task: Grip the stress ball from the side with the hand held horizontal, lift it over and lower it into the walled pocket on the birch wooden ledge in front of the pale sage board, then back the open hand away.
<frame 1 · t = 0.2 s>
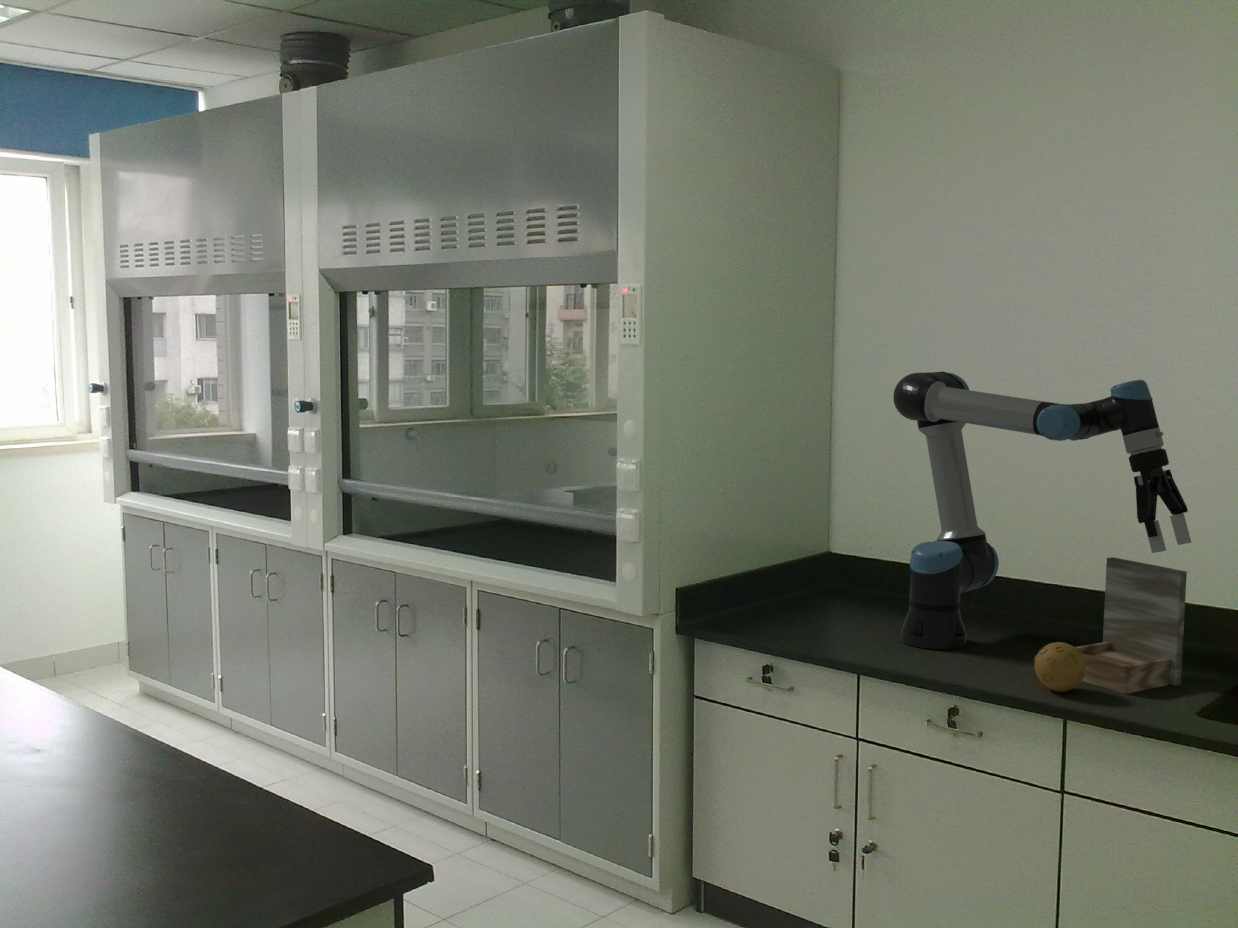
hand: (1172, 547, 248), 27 cm above the lab bench, tool tilted 15°, fingers open, 13 cm apart
ledge stand: (1114, 679, 245), on the lab bench
stress ball: (1058, 691, 237), on the lab bench
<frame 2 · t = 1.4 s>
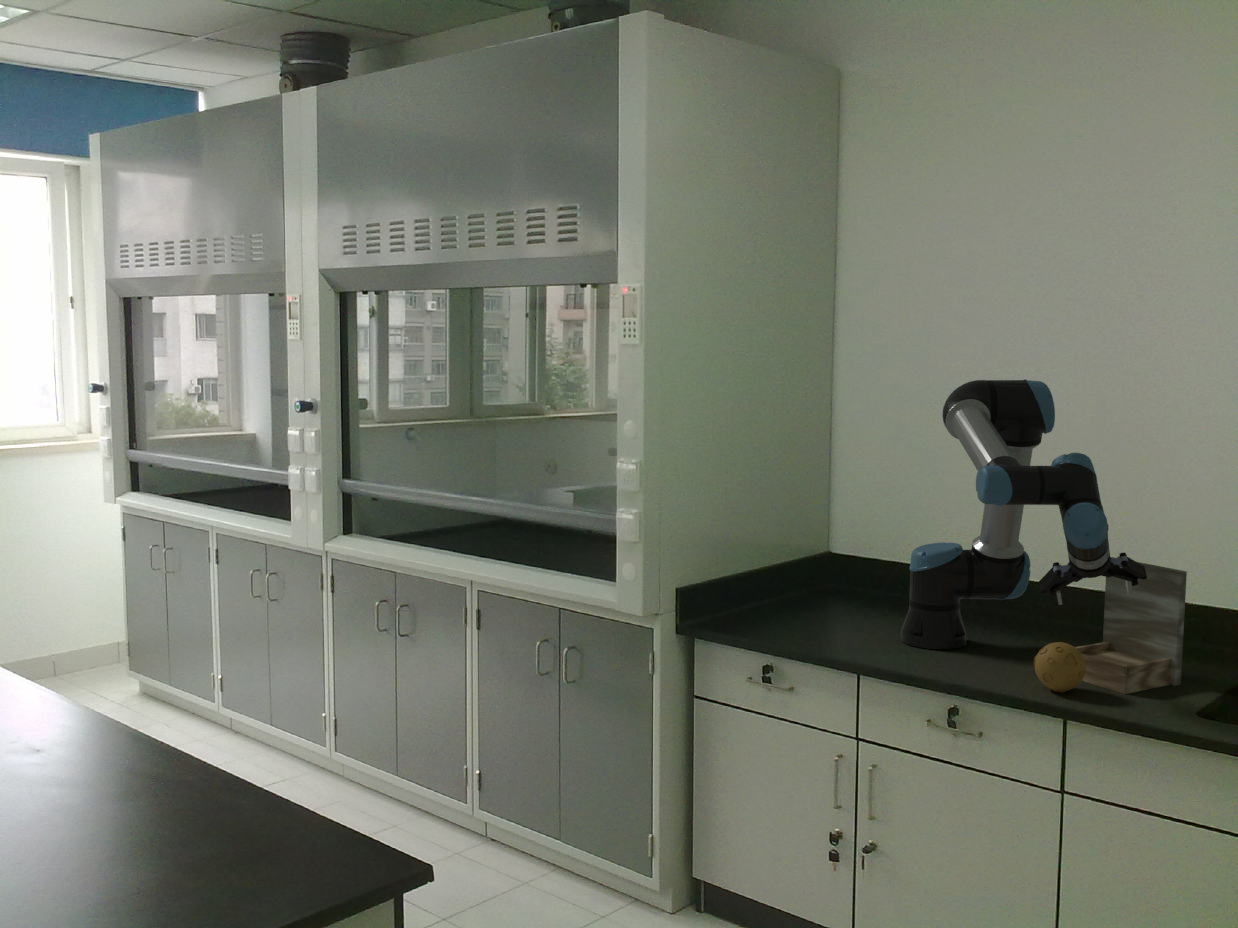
hand: (1093, 594, 242), 19 cm above the lab bench, tool tilted 55°, fingers open, 13 cm apart
nothing on the lab bench moved.
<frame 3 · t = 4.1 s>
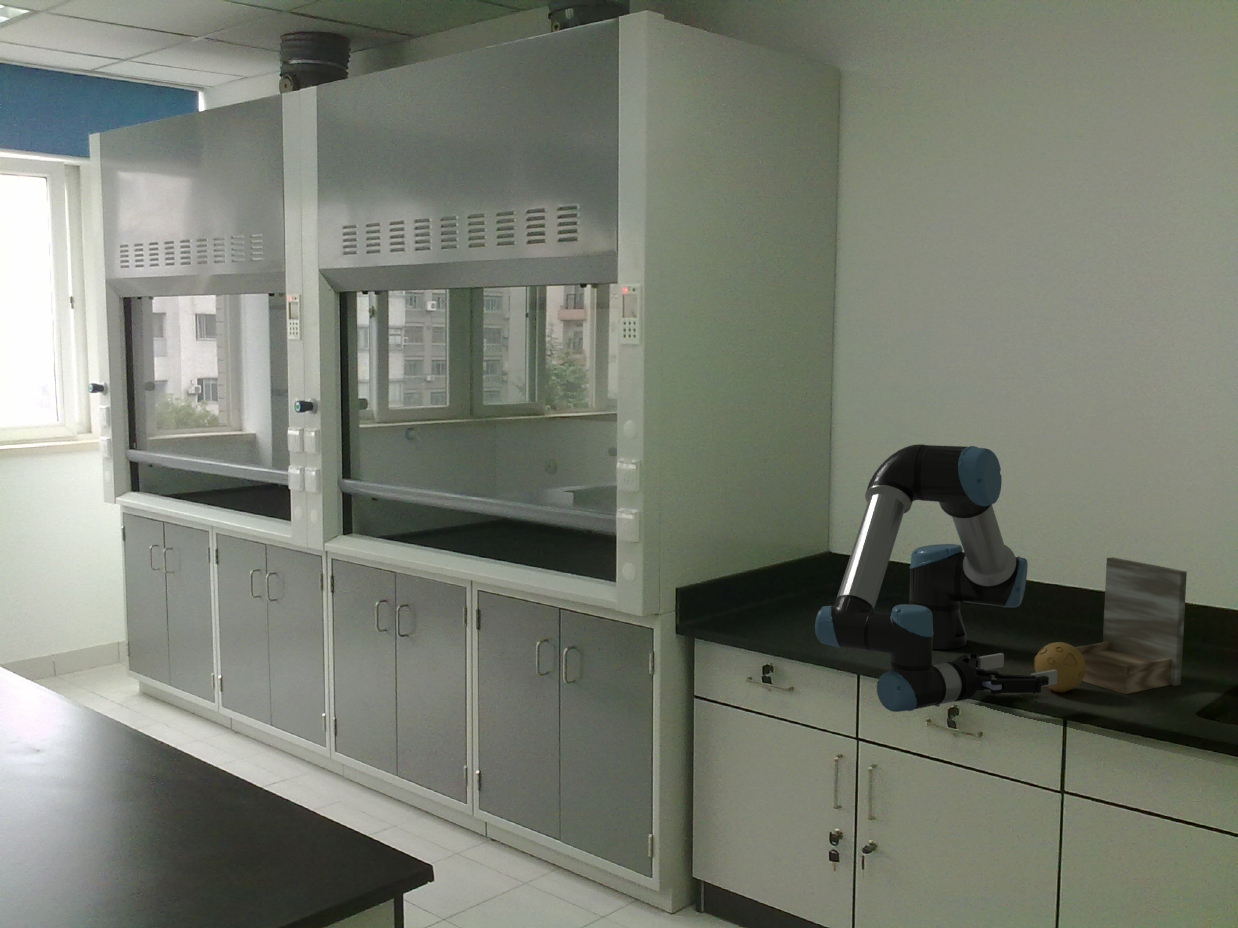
hand: (1028, 667, 232), 6 cm above the lab bench, tool horizontal, fingers open, 13 cm apart
nothing on the lab bench moved.
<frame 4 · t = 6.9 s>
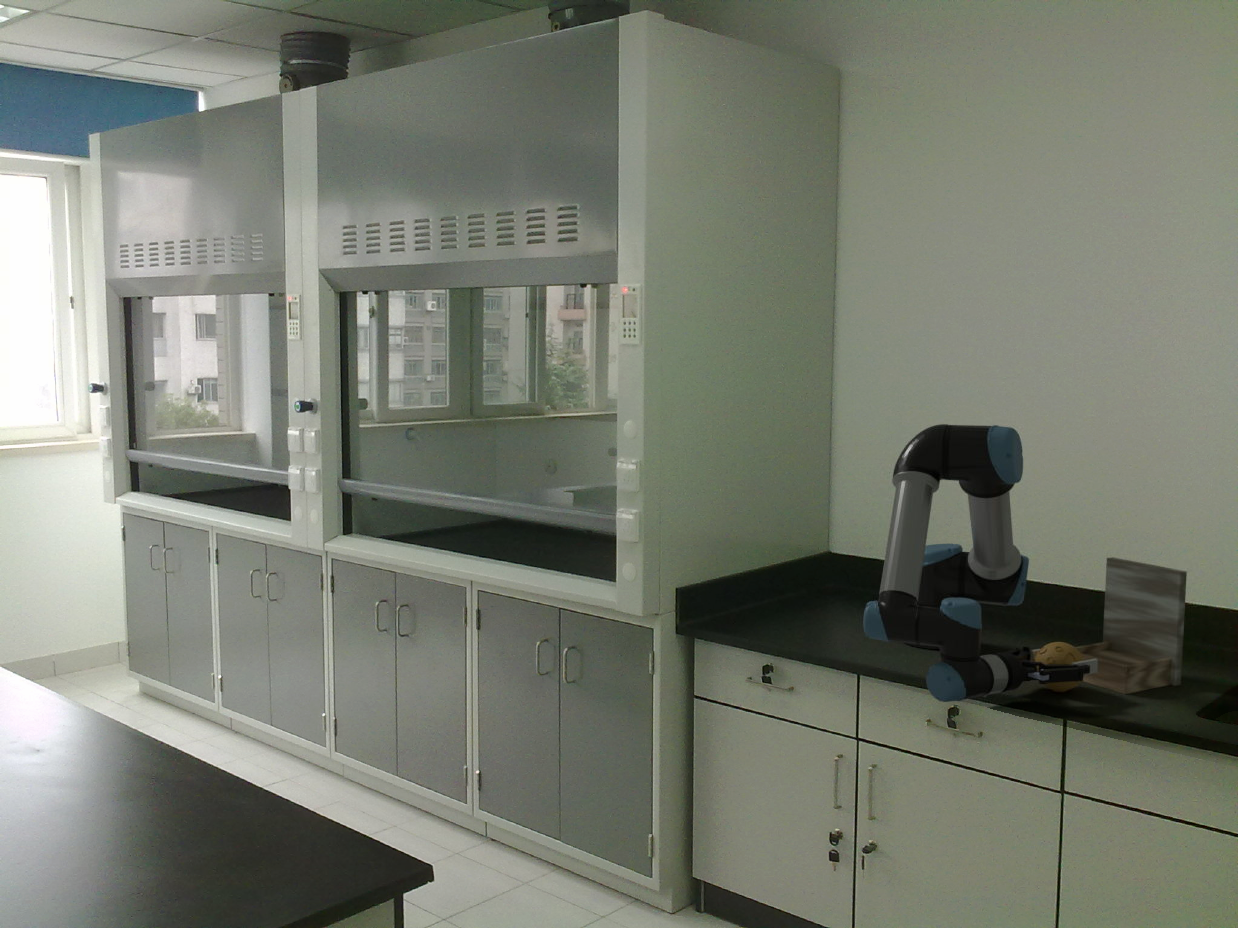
hand: (1074, 659, 239), 6 cm above the lab bench, tool horizontal, fingers closed on stress ball, 10 cm apart
stress ball: (1058, 691, 237), on the lab bench, touching gripper
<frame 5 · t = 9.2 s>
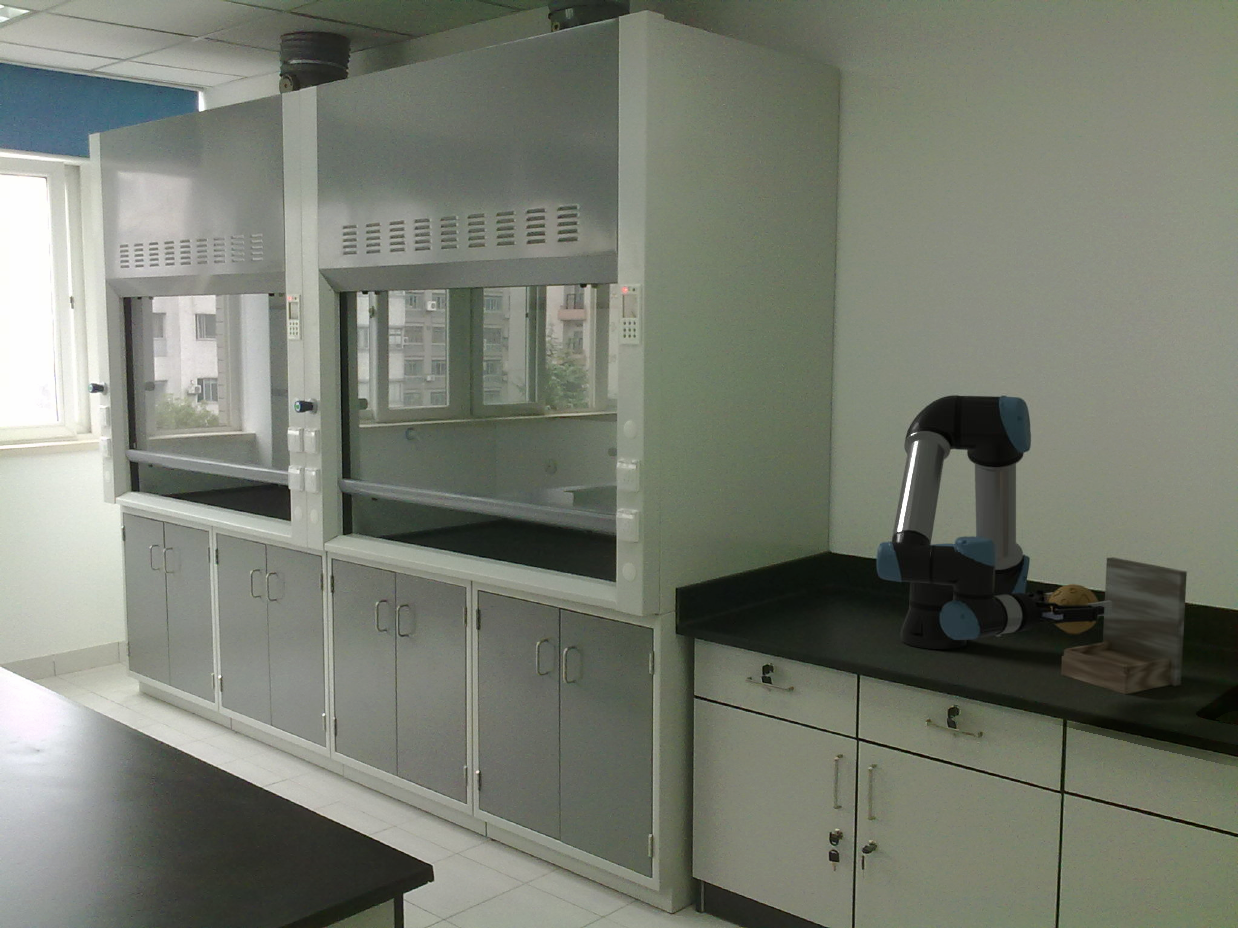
hand: (1088, 602, 238), 18 cm above the lab bench, tool horizontal, fingers closed on stress ball, 10 cm apart
stress ball: (1072, 633, 237), point 12 cm above the lab bench, touching gripper
when the fingers open (11 cm above the lab bench, at t = 12.0 s): stress ball drops 1 cm, resting on ledge stand.
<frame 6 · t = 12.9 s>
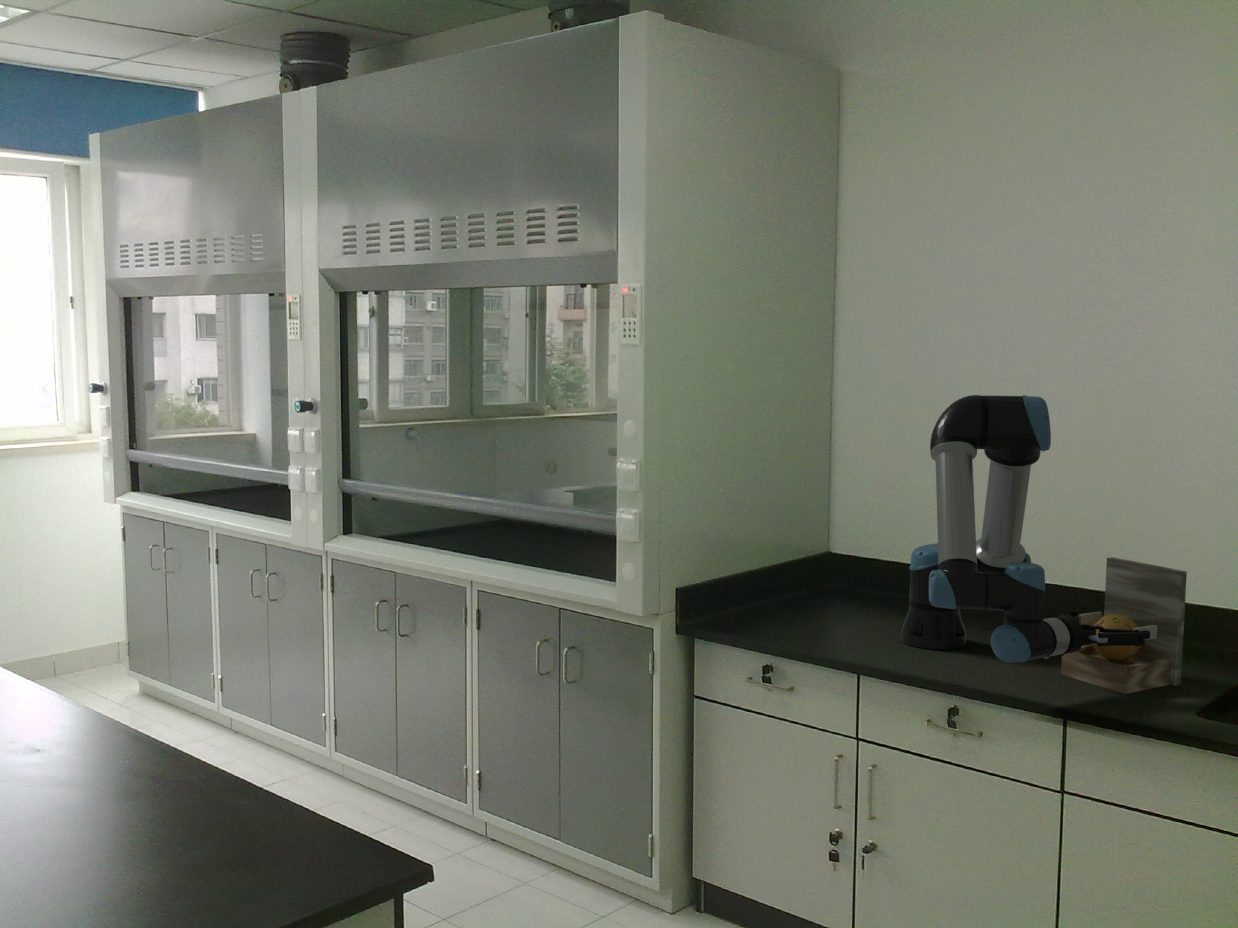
hand: (1127, 624, 246), 12 cm above the lab bench, tool horizontal, fingers open, 13 cm apart
stress ball: (1114, 661, 245), point 4 cm above the lab bench, touching ledge stand
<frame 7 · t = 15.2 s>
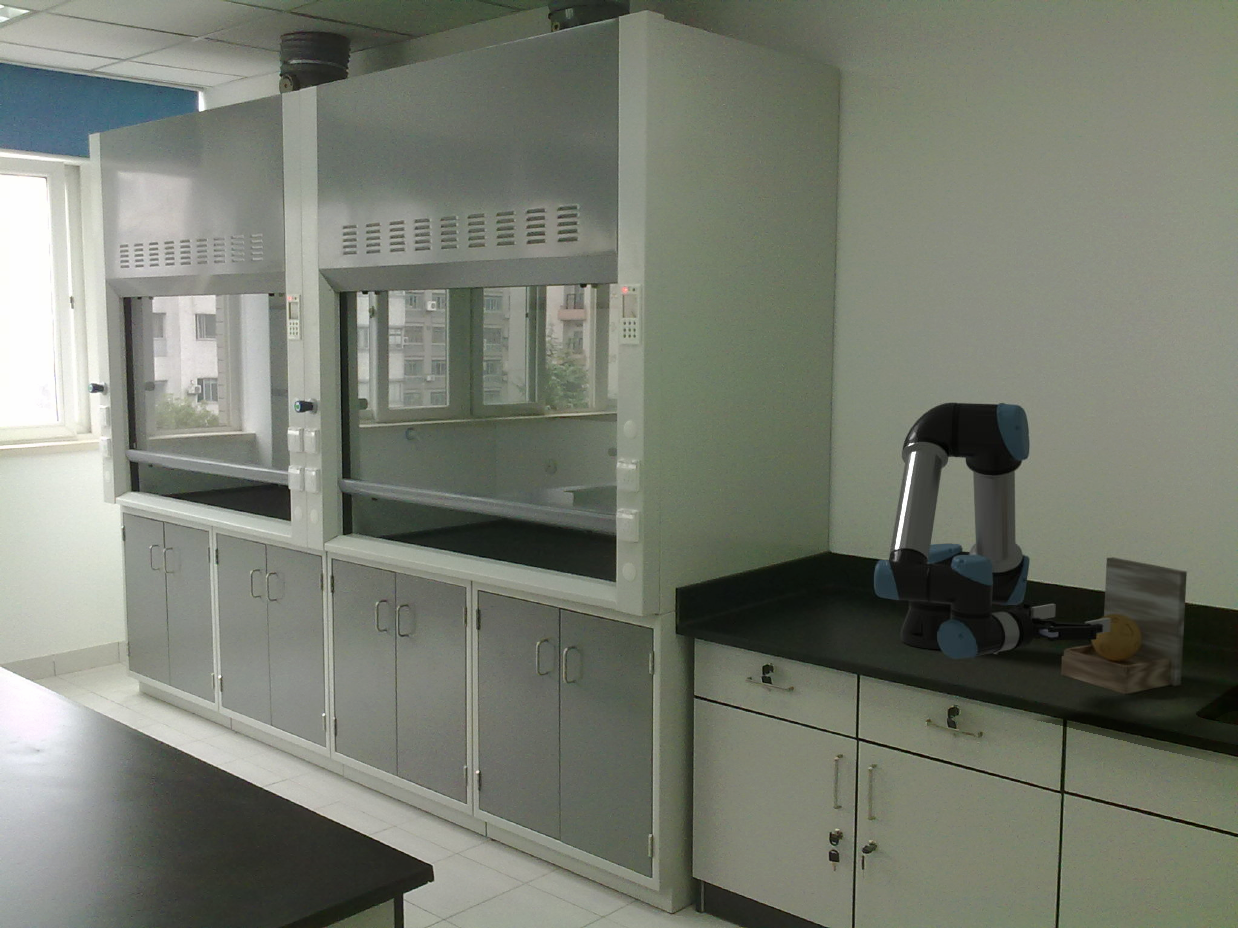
hand: (1080, 617, 238), 15 cm above the lab bench, tool horizontal, fingers open, 13 cm apart
nothing on the lab bench moved.
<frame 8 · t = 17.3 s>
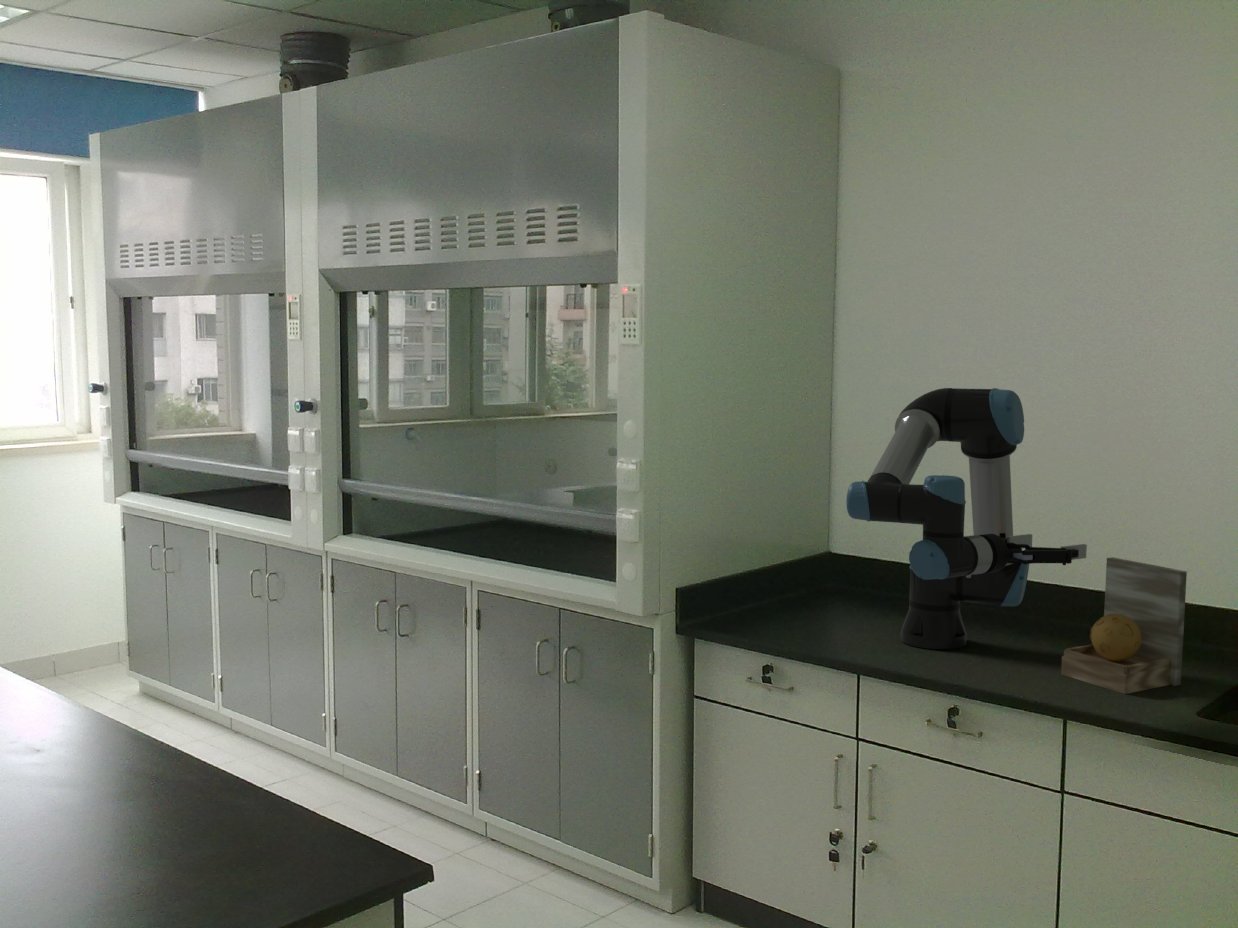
hand: (1057, 545, 234), 30 cm above the lab bench, tool horizontal, fingers open, 13 cm apart
nothing on the lab bench moved.
at the end: stress ball inside the target area on the ledge stand (0.3 cm from its centre), point 3.8 cm above the ledge stand's base; stress ball touching ledge stand; the gripper is holding nothing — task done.
